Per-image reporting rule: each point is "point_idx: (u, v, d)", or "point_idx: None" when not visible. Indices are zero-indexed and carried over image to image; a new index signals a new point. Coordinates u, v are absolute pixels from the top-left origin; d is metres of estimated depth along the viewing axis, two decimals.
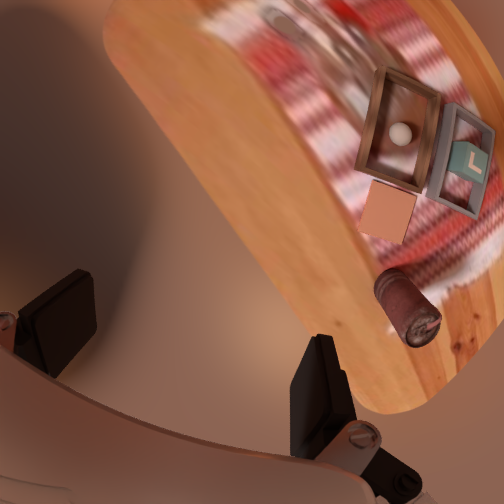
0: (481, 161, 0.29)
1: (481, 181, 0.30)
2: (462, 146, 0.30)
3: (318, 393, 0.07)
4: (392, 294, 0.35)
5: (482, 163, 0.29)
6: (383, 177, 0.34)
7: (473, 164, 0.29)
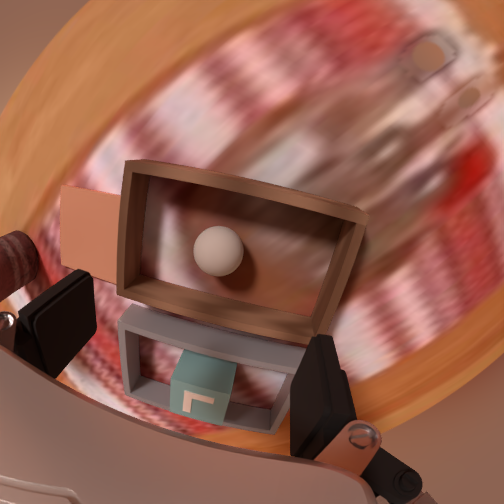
0: (204, 413, 0.21)
1: (172, 410, 0.22)
2: (223, 380, 0.21)
3: (318, 393, 0.07)
4: None
5: (202, 414, 0.21)
6: (121, 212, 0.18)
7: (192, 399, 0.21)
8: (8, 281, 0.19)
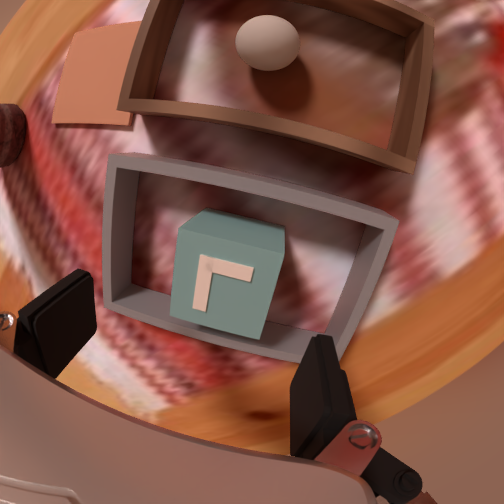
0: (232, 311, 0.14)
1: (174, 311, 0.14)
2: (267, 240, 0.14)
3: (318, 393, 0.07)
4: None
5: (226, 315, 0.14)
6: (149, 9, 0.10)
7: (213, 277, 0.13)
8: None
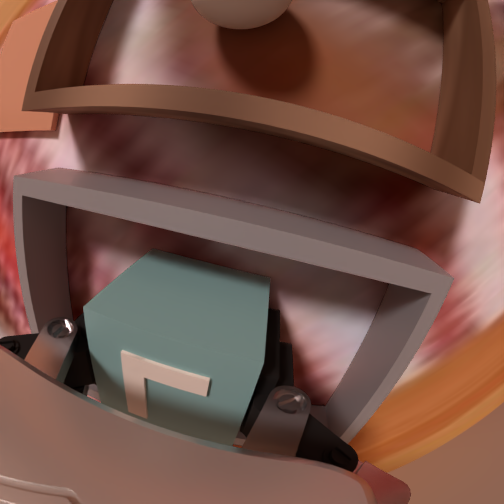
0: (185, 423, 0.08)
1: None
2: (236, 323, 0.08)
3: None
4: None
5: (178, 426, 0.08)
6: None
7: (148, 382, 0.07)
8: None
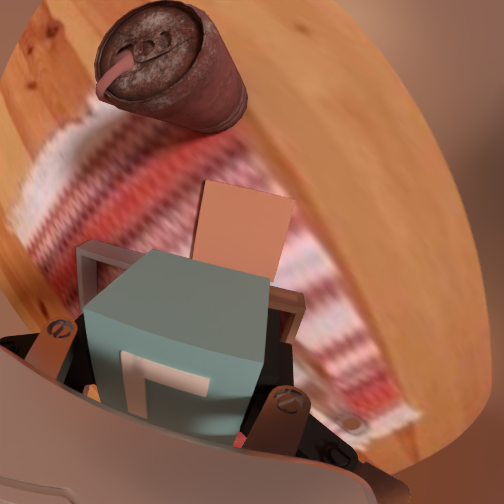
0: (184, 423, 0.08)
1: None
2: (236, 324, 0.08)
3: None
4: (228, 103, 0.15)
5: (178, 426, 0.08)
6: None
7: (148, 382, 0.07)
8: (186, 127, 0.18)
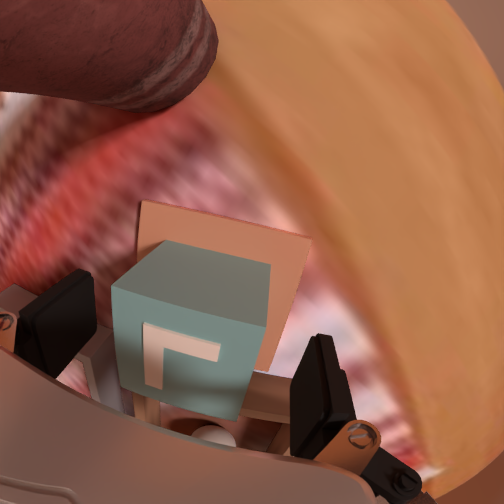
0: (196, 392, 0.09)
1: (125, 383, 0.09)
2: (242, 298, 0.09)
3: (317, 393, 0.07)
4: (139, 14, 0.04)
5: (190, 395, 0.09)
6: (253, 412, 0.13)
7: (165, 352, 0.09)
8: (69, 98, 0.06)
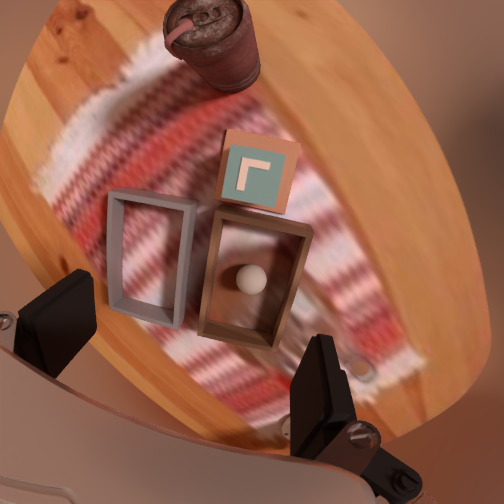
0: (258, 189, 0.25)
1: (224, 193, 0.25)
2: None
3: (318, 393, 0.07)
4: (251, 63, 0.19)
5: (256, 192, 0.25)
6: (279, 226, 0.28)
7: (248, 169, 0.24)
8: (216, 82, 0.22)
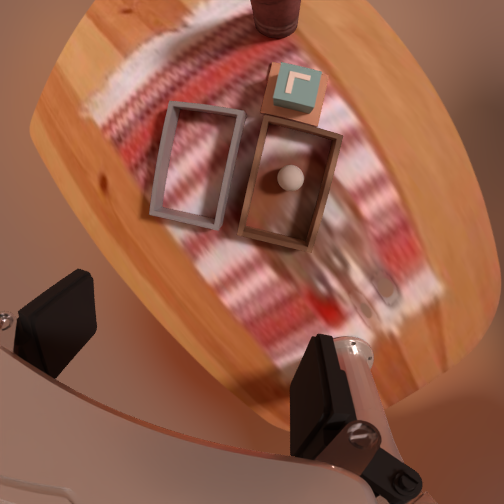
0: (302, 93, 0.28)
1: (275, 95, 0.29)
2: None
3: (318, 393, 0.07)
4: (296, 11, 0.23)
5: (300, 95, 0.29)
6: (315, 128, 0.32)
7: (294, 79, 0.28)
8: (270, 23, 0.25)
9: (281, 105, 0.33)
